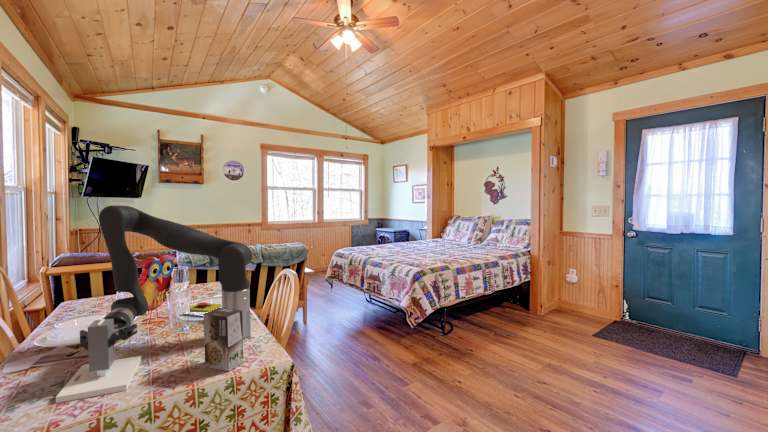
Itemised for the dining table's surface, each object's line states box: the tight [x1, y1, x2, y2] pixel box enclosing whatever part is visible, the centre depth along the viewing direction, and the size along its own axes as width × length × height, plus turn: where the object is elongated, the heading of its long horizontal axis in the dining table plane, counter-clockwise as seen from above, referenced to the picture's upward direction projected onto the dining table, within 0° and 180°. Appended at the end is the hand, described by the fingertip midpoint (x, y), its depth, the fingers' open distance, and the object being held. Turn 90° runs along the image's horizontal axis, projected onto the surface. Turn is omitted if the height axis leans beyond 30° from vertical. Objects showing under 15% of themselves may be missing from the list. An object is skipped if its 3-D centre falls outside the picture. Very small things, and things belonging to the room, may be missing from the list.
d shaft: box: [97, 369, 109, 378], centre depth 95 cm, size 3×2×9 cm, turn 25°
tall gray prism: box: [87, 318, 116, 372], centre depth 94 cm, size 6×4×12 cm
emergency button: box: [189, 301, 222, 312], centre depth 150 cm, size 9×4×15 cm
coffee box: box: [203, 308, 244, 372], centre depth 103 cm, size 9×6×16 cm
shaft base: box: [55, 355, 142, 404], centre depth 95 cm, size 18×14×2 cm
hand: (98, 344), depth 92 cm, fingers closed on tall gray prism, 4 cm apart
